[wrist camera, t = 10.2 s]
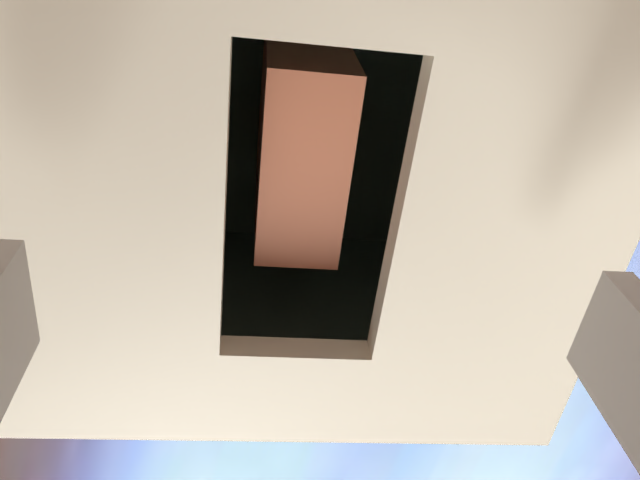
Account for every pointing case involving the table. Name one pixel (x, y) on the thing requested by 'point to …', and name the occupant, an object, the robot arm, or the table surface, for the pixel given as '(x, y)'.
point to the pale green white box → (359, 230)
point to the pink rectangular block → (305, 152)
